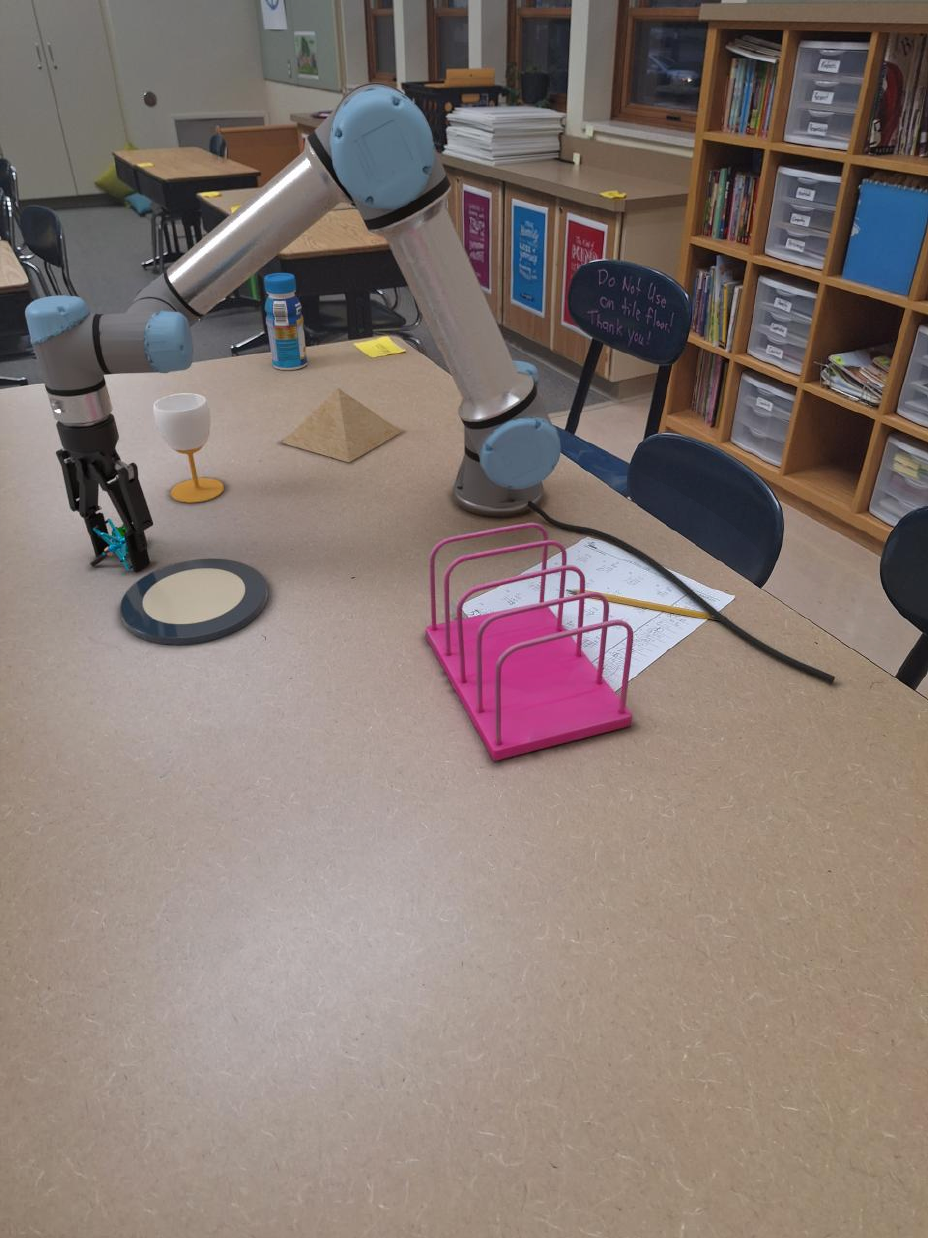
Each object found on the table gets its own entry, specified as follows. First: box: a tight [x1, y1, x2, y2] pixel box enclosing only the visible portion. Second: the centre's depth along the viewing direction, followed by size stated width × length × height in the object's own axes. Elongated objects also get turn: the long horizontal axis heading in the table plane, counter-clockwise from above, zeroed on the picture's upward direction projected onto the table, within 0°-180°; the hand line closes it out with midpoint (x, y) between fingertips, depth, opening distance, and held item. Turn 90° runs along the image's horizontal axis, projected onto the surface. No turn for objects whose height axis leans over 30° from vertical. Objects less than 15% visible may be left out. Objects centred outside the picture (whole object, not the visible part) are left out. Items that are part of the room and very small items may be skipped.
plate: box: [119, 557, 269, 646], centre depth 121 cm, size 20×20×1 cm
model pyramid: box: [281, 387, 403, 463], centre depth 165 cm, size 17×17×10 cm
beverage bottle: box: [263, 272, 308, 371], centre depth 196 cm, size 8×8×20 cm
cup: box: [152, 392, 225, 504], centre depth 145 cm, size 9×9×16 cm
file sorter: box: [425, 522, 635, 762], centre depth 103 cm, size 17×25×16 cm
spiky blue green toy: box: [89, 518, 133, 572], centre depth 130 cm, size 12×7×8 cm
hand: (123, 560), depth 131 cm, fingers closed on spiky blue green toy, 7 cm apart
